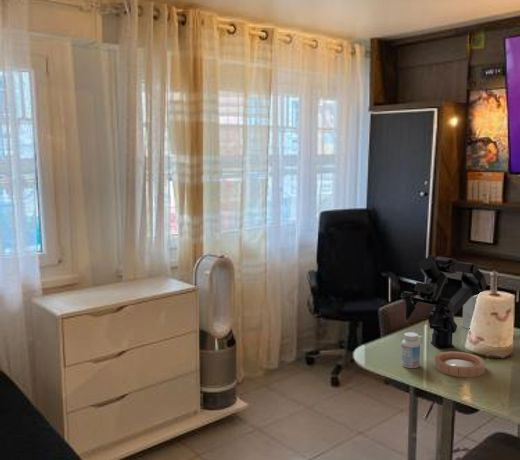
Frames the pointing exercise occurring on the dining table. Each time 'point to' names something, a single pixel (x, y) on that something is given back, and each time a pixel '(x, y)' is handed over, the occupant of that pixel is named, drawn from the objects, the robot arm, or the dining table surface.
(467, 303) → the skincare box
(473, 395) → the dining table surface
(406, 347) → the pill bottle
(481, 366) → the round dish
